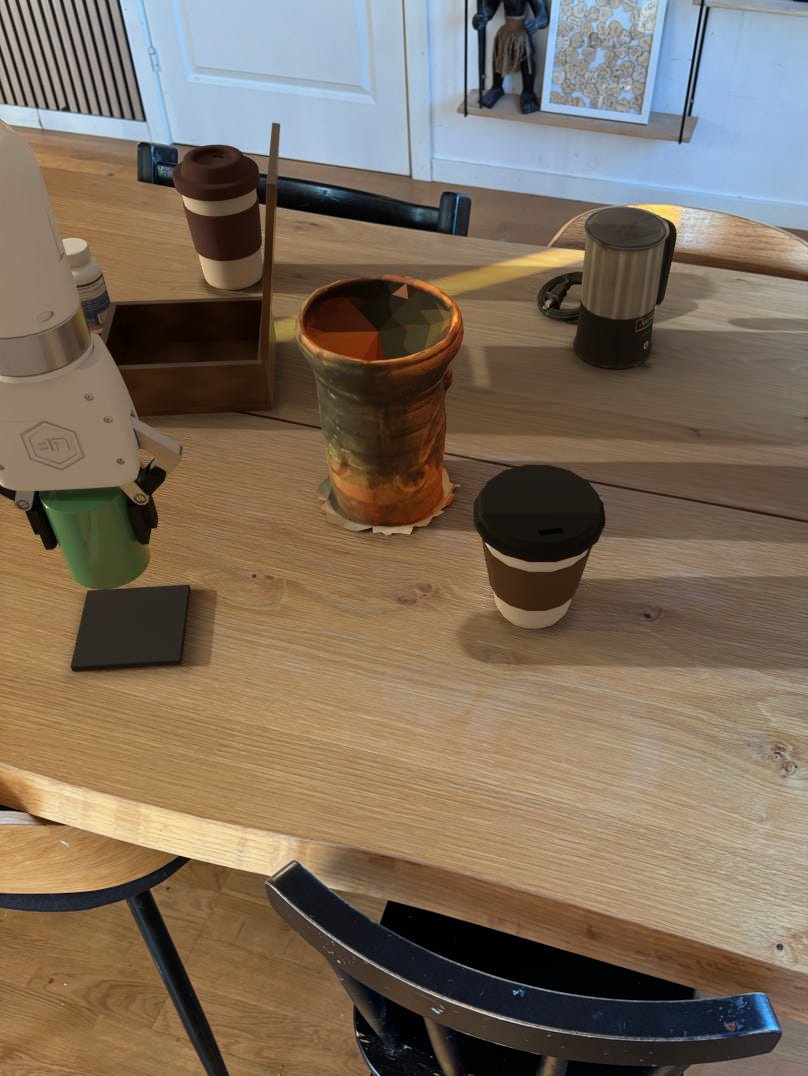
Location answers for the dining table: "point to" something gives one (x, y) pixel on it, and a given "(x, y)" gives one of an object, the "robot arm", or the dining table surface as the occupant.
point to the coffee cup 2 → (537, 539)
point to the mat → (132, 628)
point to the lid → (269, 239)
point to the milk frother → (616, 286)
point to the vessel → (382, 397)
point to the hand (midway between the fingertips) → (100, 533)
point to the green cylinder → (96, 535)
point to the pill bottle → (88, 283)
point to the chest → (192, 354)
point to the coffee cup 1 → (222, 213)
